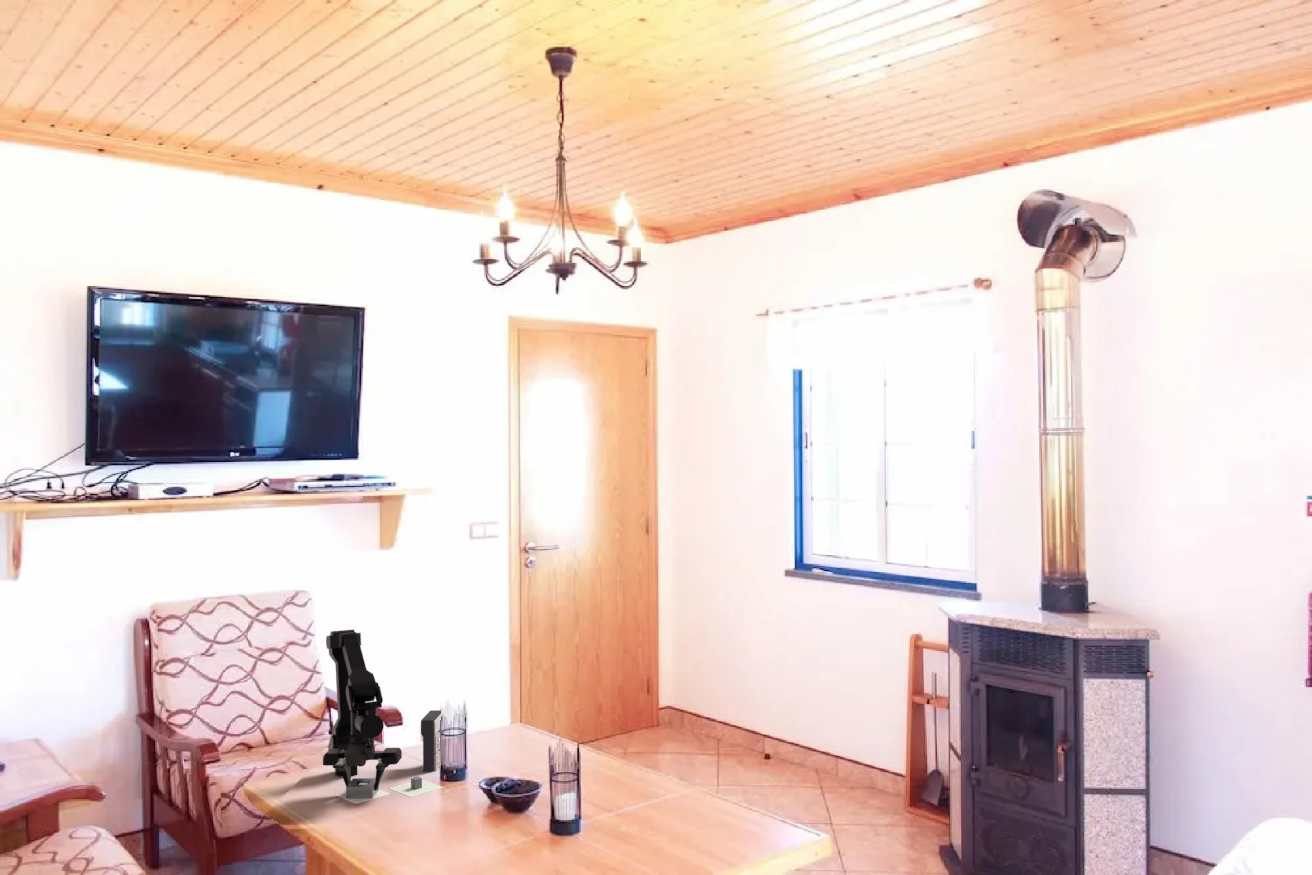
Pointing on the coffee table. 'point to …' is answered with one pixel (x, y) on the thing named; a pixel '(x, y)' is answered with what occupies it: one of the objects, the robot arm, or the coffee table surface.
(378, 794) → the plate stand
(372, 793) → the grey socket block
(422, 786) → the hub board
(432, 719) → the calculator
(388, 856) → the coffee table surface
